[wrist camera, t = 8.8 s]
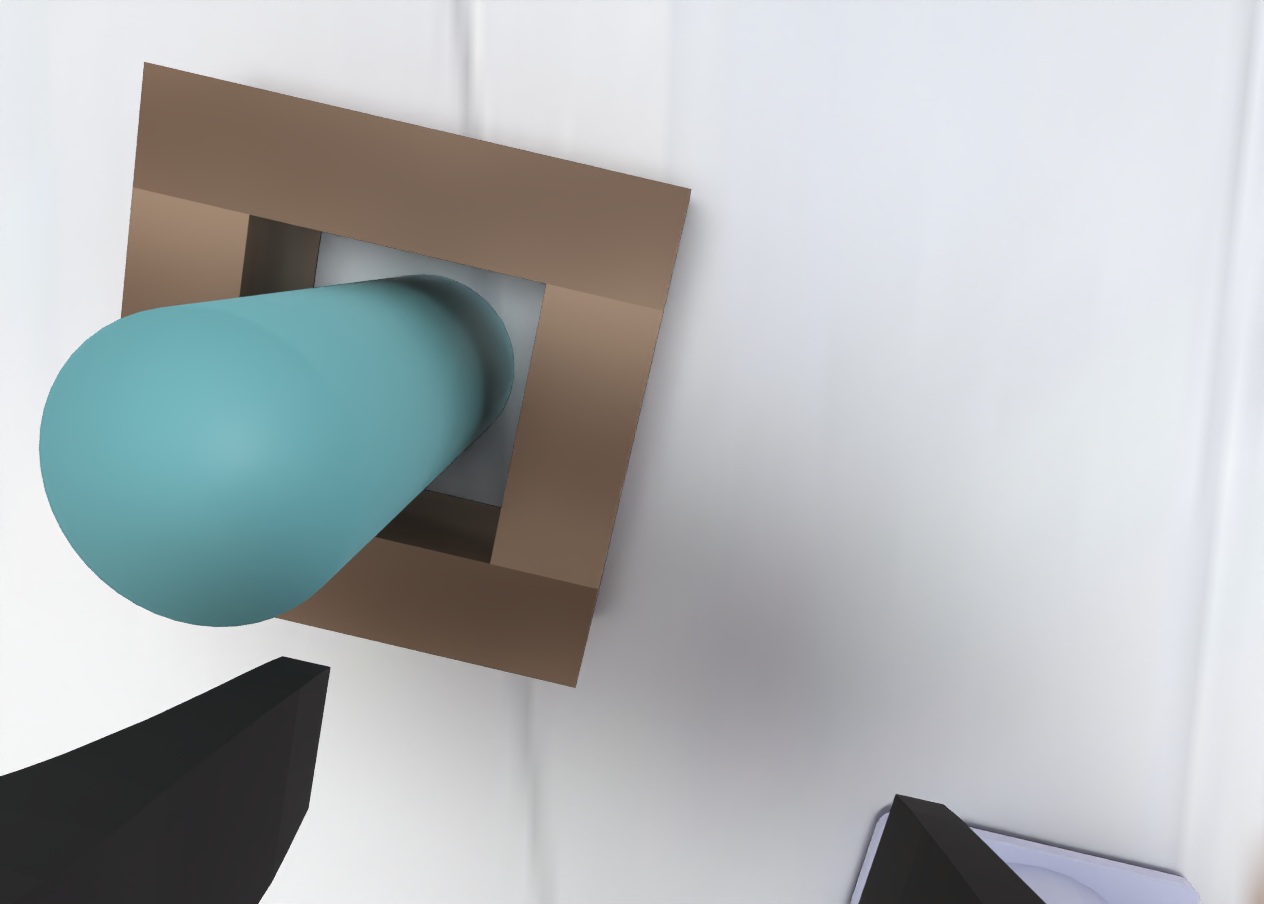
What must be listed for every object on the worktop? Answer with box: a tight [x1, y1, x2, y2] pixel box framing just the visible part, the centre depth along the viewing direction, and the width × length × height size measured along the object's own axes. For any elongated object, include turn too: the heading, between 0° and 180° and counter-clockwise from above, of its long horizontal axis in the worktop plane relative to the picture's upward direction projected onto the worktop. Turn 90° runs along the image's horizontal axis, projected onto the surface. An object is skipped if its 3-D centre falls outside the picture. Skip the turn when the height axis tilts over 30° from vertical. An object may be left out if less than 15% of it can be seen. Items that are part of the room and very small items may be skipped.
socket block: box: [121, 62, 691, 688], centre depth 19 cm, size 10×10×4 cm
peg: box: [39, 275, 514, 627], centre depth 16 cm, size 4×4×10 cm
